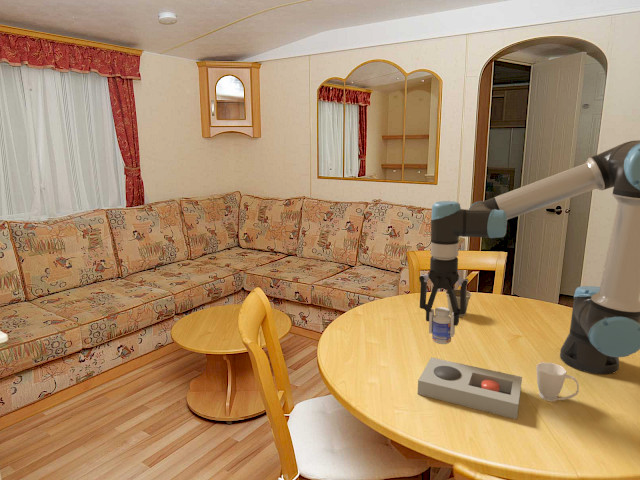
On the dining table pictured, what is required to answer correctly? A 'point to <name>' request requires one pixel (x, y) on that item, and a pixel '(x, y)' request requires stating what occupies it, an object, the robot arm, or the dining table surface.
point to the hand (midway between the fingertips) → (441, 333)
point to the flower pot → (458, 301)
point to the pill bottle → (441, 326)
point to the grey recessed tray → (470, 387)
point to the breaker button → (490, 385)
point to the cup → (552, 381)
